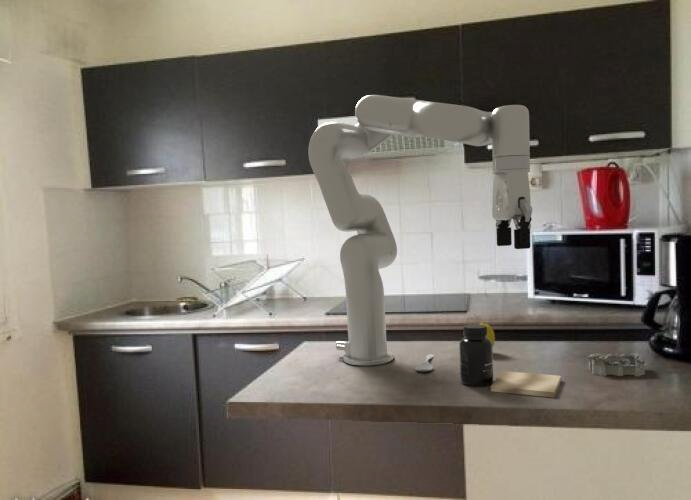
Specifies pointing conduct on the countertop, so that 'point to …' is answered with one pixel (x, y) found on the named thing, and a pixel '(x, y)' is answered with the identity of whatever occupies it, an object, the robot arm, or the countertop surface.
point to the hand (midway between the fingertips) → (512, 247)
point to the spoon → (425, 364)
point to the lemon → (489, 333)
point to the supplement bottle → (476, 356)
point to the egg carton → (616, 364)
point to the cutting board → (527, 384)
